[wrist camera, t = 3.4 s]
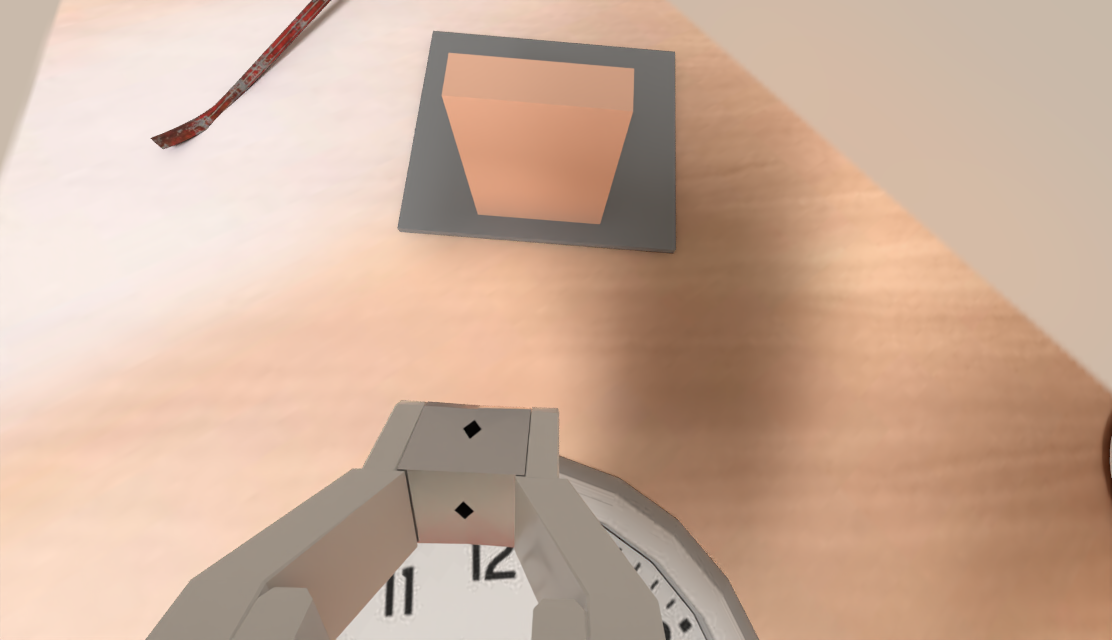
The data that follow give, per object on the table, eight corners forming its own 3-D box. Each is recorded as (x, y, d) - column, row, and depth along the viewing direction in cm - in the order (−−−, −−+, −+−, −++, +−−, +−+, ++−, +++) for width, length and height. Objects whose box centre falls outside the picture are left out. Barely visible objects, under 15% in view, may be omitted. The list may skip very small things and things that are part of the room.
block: (601, 191, 27) (634, 64, 18) (599, 224, 27) (633, 111, 17) (482, 182, 27) (449, 48, 18) (477, 214, 27) (441, 95, 17)
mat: (672, 57, 31) (674, 51, 30) (673, 253, 27) (675, 249, 27) (434, 37, 31) (433, 31, 30) (400, 231, 27) (397, 228, 26)
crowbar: (426, -65, 34) (400, -142, 29) (447, -51, 33) (424, -126, 28) (208, 169, 32) (139, 130, 27) (228, 186, 31) (162, 150, 26)
